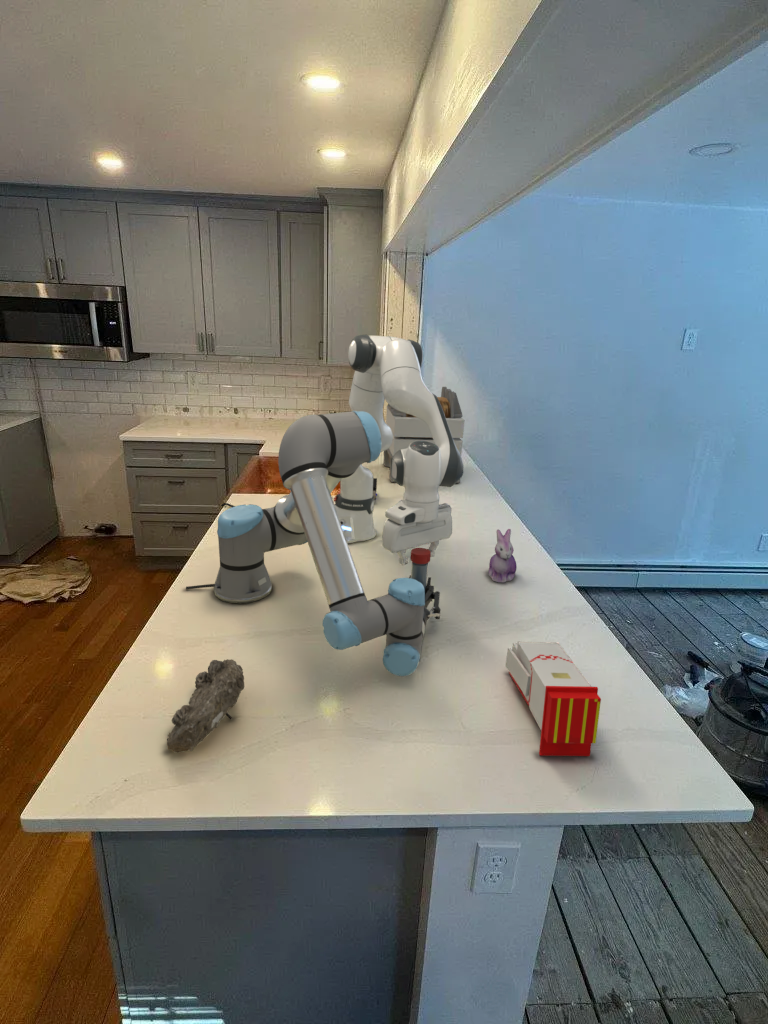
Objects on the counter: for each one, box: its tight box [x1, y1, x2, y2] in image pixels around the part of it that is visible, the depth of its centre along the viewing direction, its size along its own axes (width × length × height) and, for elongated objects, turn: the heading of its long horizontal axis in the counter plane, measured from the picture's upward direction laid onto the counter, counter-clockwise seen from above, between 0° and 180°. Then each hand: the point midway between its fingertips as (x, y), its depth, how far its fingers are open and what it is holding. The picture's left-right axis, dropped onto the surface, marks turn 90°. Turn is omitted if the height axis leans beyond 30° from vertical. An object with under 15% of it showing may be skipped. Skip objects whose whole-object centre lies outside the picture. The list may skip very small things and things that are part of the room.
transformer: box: [383, 386, 465, 484], centre depth 268 cm, size 34×33×41 cm
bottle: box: [410, 561, 429, 594], centre depth 146 cm, size 4×4×16 cm
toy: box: [505, 641, 602, 757], centre depth 113 cm, size 12×13×30 cm
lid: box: [410, 547, 431, 564], centre depth 144 cm, size 5×5×2 cm
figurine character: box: [373, 477, 378, 500], centre depth 233 cm, size 7×8×15 cm
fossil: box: [166, 658, 245, 754], centre depth 106 cm, size 22×10×15 cm
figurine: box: [488, 528, 518, 583], centre depth 168 cm, size 9×10×15 cm
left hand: (420, 580), depth 152 cm, fingers closed on bottle, 4 cm apart
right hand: (417, 560), depth 144 cm, fingers open, 7 cm apart
